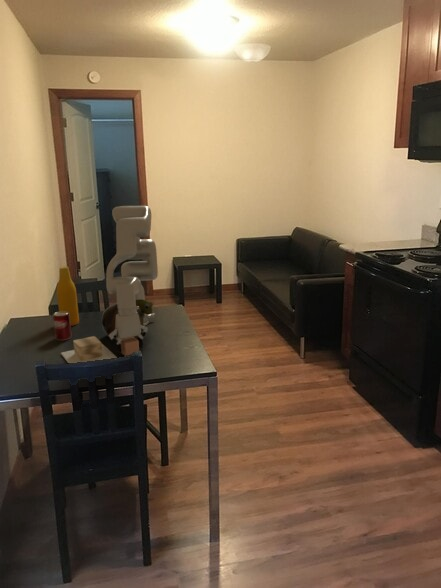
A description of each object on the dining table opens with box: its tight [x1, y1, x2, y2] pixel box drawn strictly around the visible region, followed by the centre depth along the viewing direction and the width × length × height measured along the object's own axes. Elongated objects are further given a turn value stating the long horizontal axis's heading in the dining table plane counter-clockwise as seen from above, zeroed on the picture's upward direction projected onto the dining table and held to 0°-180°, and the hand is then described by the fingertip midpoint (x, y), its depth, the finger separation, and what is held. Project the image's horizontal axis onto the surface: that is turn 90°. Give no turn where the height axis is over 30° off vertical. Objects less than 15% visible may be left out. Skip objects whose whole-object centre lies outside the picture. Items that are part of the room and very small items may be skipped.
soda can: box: [52, 311, 73, 342], centre depth 219 cm, size 7×7×12 cm
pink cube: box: [120, 337, 140, 357], centre depth 202 cm, size 6×6×6 cm
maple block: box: [72, 335, 102, 361], centre depth 198 cm, size 9×9×6 cm
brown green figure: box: [101, 299, 154, 339], centre depth 219 cm, size 19×16×25 cm
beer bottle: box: [56, 266, 80, 327], centre depth 236 cm, size 9×9×29 cm
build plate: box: [60, 343, 118, 364], centre depth 199 cm, size 18×18×1 cm
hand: (129, 349), depth 202 cm, fingers open, 8 cm apart
